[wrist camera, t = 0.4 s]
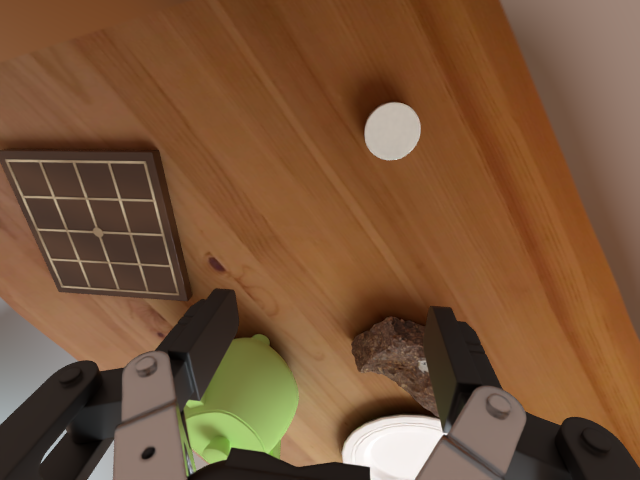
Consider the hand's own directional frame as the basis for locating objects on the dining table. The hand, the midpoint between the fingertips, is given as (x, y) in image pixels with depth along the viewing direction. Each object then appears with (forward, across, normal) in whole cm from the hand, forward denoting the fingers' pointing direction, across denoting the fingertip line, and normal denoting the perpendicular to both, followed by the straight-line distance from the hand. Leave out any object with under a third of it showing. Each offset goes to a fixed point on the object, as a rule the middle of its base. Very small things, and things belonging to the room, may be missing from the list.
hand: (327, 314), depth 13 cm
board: (+20, +28, +6) cm, 35 cm away
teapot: (+20, +12, +26) cm, 35 cm away
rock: (+20, -8, +20) cm, 29 cm away
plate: (+20, -11, +40) cm, 46 cm away
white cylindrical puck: (+20, -4, -5) cm, 21 cm away
